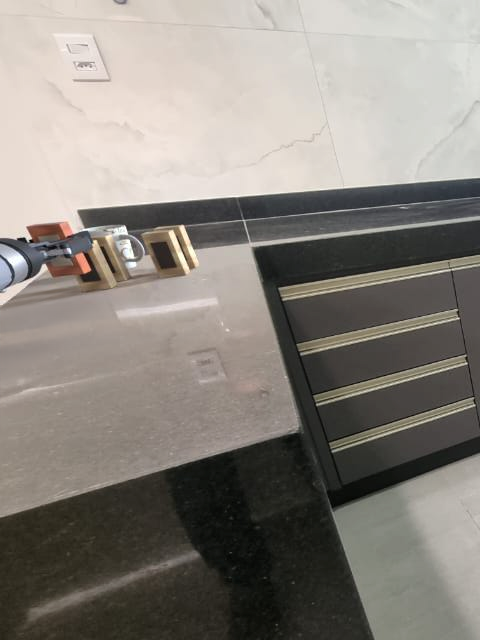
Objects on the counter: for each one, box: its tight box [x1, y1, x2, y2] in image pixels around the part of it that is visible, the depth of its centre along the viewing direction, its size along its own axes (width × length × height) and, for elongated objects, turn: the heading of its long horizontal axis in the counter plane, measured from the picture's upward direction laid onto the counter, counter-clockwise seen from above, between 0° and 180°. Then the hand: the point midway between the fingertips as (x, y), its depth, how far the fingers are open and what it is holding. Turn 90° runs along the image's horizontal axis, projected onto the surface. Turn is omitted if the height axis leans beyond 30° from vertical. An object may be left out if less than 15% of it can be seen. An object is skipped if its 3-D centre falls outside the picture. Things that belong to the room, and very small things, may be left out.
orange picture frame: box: [25, 221, 91, 278], centre depth 105 cm, size 5×3×10 cm, turn 113°
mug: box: [78, 224, 145, 270], centre depth 130 cm, size 8×13×10 cm, turn 88°
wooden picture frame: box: [140, 224, 200, 279], centre depth 124 cm, size 5×10×10 cm, turn 23°
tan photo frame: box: [73, 234, 132, 293], centre depth 116 cm, size 5×10×10 cm, turn 23°
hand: (70, 238), depth 109 cm, fingers closed on orange picture frame, 5 cm apart
